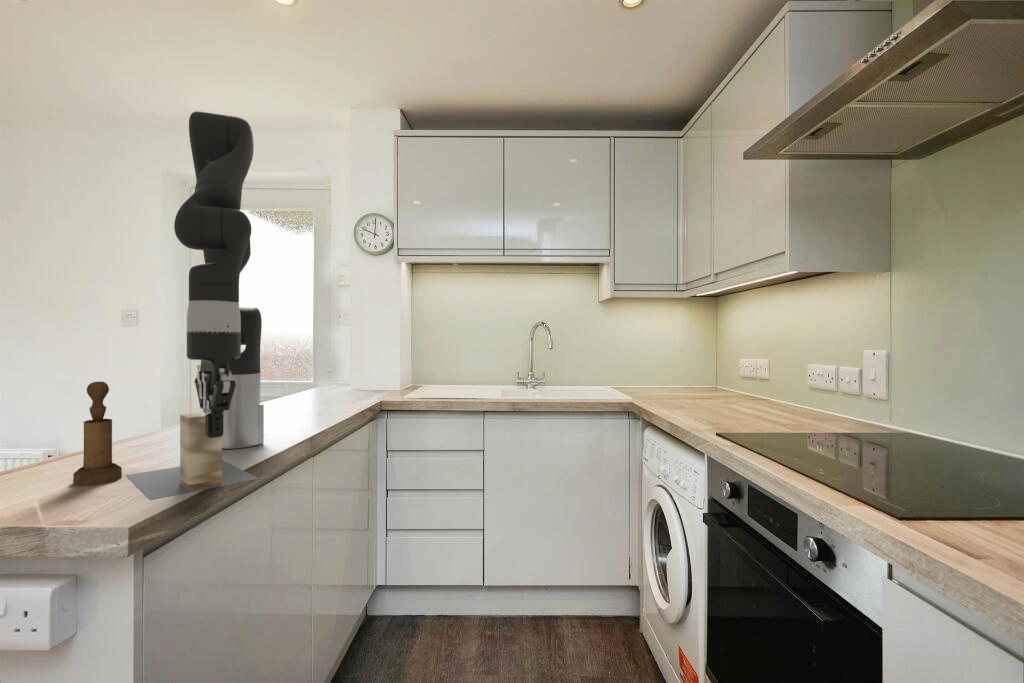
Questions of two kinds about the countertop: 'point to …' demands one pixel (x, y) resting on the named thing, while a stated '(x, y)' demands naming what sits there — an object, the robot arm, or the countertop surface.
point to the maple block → (198, 453)
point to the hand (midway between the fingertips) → (214, 436)
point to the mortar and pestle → (97, 443)
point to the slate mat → (169, 481)
